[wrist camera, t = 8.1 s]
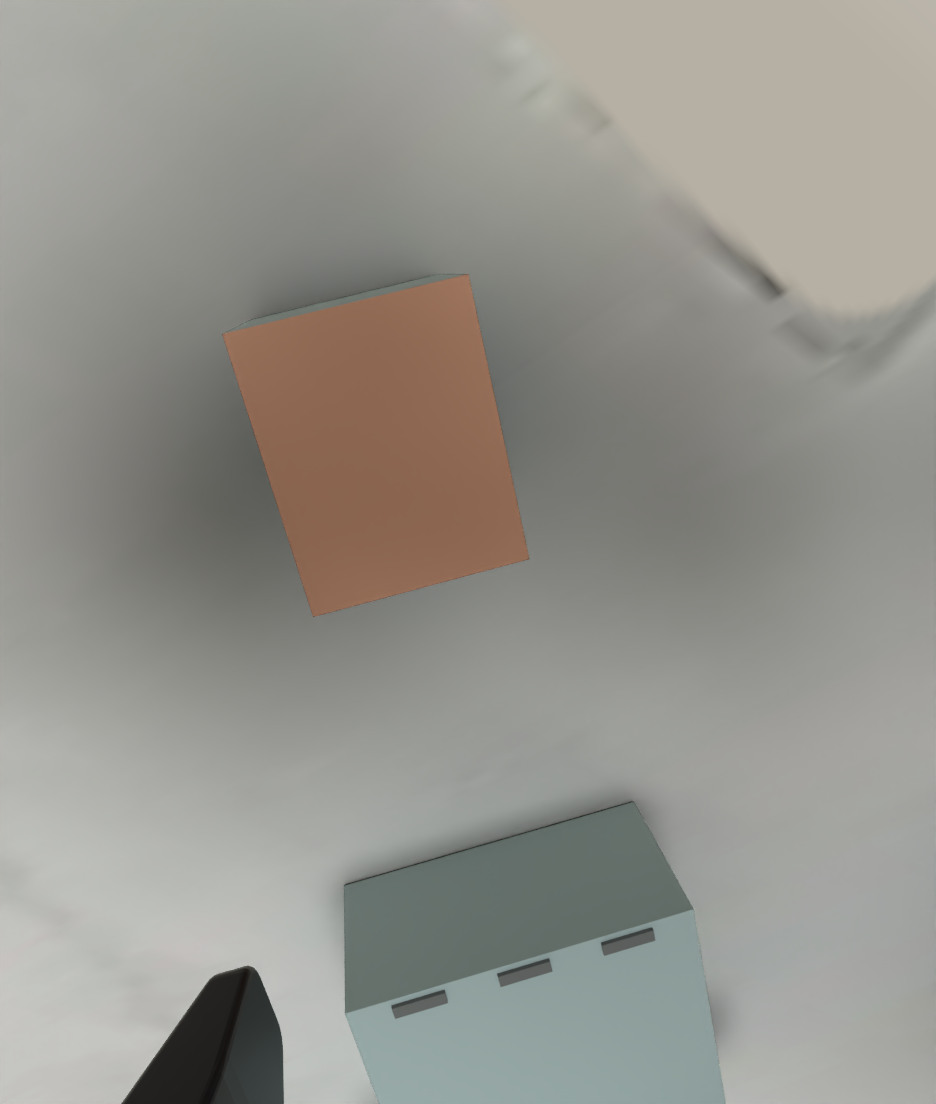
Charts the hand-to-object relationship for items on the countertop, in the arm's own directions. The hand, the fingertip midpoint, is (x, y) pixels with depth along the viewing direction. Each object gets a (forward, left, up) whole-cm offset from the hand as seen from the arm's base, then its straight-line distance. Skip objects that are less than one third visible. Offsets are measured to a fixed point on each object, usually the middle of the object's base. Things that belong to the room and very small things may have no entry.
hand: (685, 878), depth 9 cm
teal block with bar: (+2, +13, -11) cm, 18 cm away
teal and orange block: (+2, -4, -11) cm, 12 cm away
